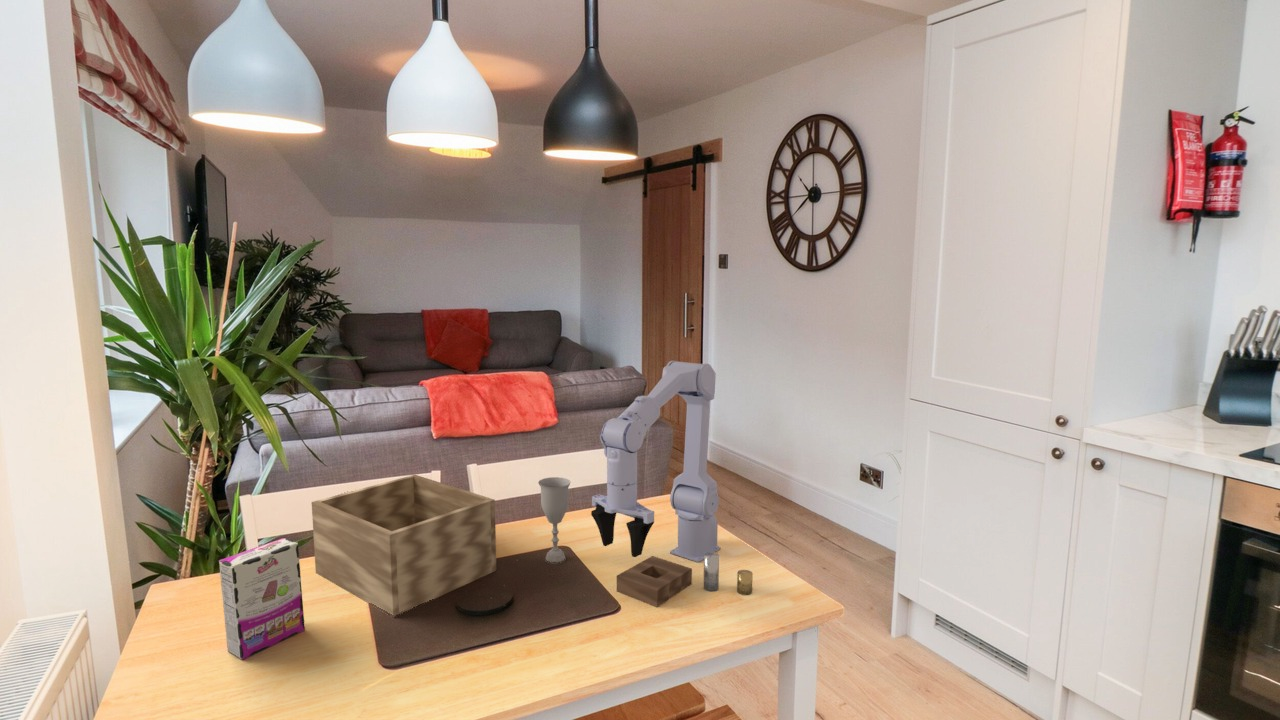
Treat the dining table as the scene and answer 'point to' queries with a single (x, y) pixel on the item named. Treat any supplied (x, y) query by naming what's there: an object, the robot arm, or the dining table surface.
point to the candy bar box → (261, 597)
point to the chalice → (554, 509)
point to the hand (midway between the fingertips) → (622, 549)
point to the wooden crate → (404, 541)
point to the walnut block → (654, 581)
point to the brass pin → (744, 582)
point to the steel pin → (711, 572)
